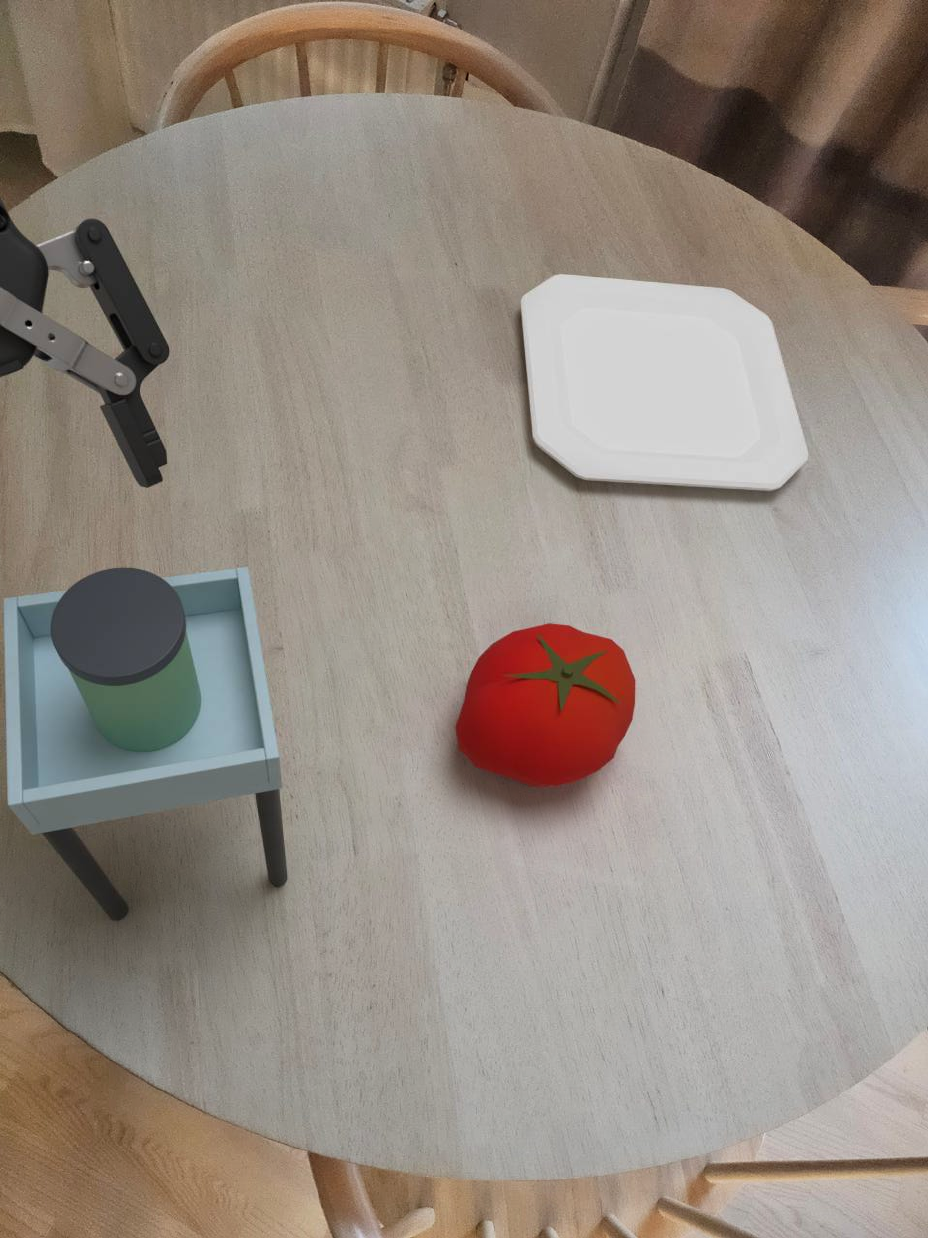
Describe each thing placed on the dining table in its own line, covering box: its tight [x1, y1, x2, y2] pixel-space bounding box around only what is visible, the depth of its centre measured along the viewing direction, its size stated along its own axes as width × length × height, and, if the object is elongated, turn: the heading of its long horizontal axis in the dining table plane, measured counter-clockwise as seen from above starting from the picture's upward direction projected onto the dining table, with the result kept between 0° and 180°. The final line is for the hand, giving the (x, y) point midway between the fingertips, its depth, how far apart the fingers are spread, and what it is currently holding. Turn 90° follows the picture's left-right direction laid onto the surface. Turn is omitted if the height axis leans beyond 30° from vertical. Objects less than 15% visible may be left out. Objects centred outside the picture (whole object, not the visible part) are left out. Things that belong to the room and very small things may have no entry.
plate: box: [519, 273, 810, 492], centre depth 86 cm, size 25×25×2 cm
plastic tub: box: [50, 567, 201, 752], centre depth 42 cm, size 5×5×8 cm
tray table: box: [2, 566, 289, 922], centre depth 52 cm, size 11×10×22 cm
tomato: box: [455, 622, 637, 788], centre depth 64 cm, size 11×13×10 cm
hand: (57, 525), depth 39 cm, fingers open, 8 cm apart
